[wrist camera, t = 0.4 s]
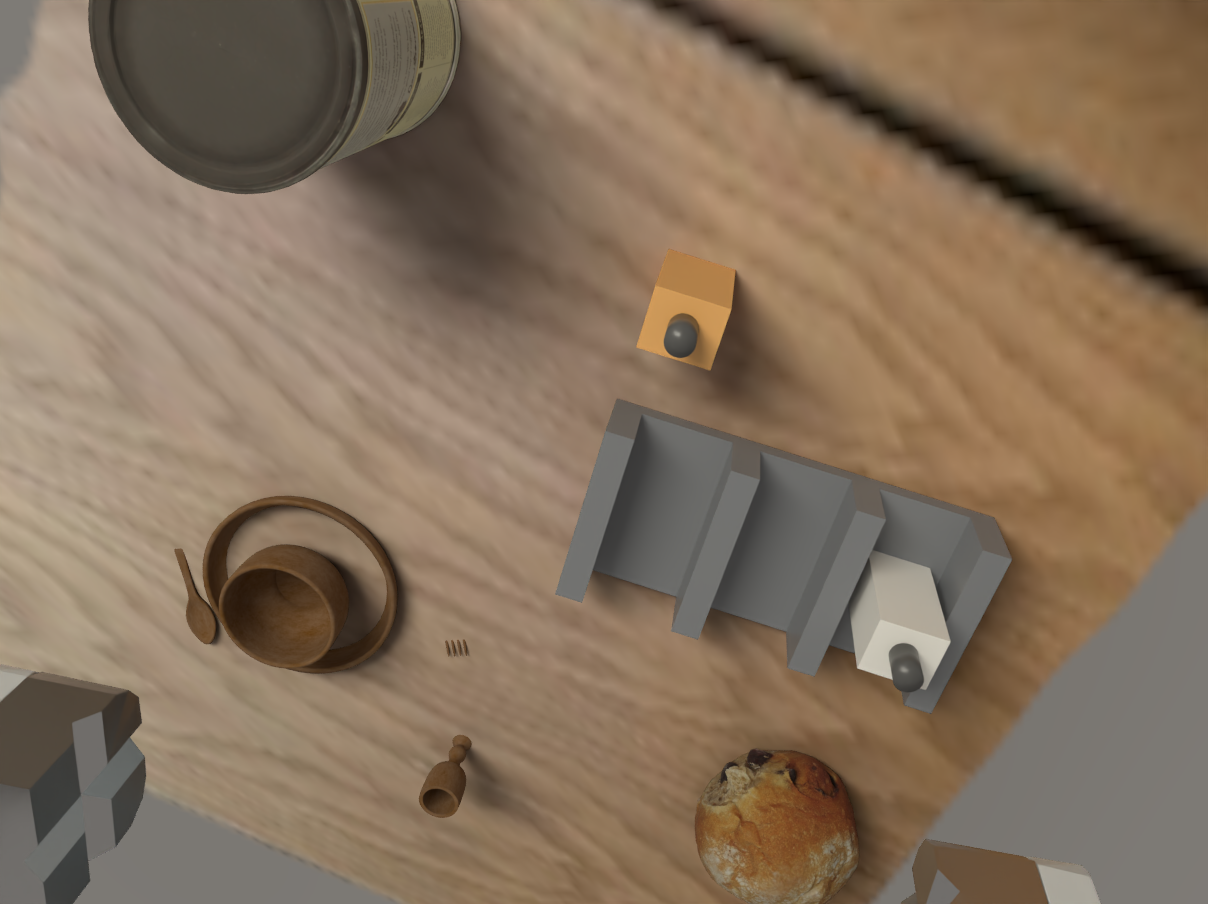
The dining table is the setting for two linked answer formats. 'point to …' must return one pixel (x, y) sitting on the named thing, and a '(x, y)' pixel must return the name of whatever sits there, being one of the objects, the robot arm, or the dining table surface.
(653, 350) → the orange plug
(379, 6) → the coffee can
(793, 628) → the rack
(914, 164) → the dining table surface
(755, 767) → the bread roll
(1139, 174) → the dining table surface
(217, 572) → the place setting
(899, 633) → the white plug
